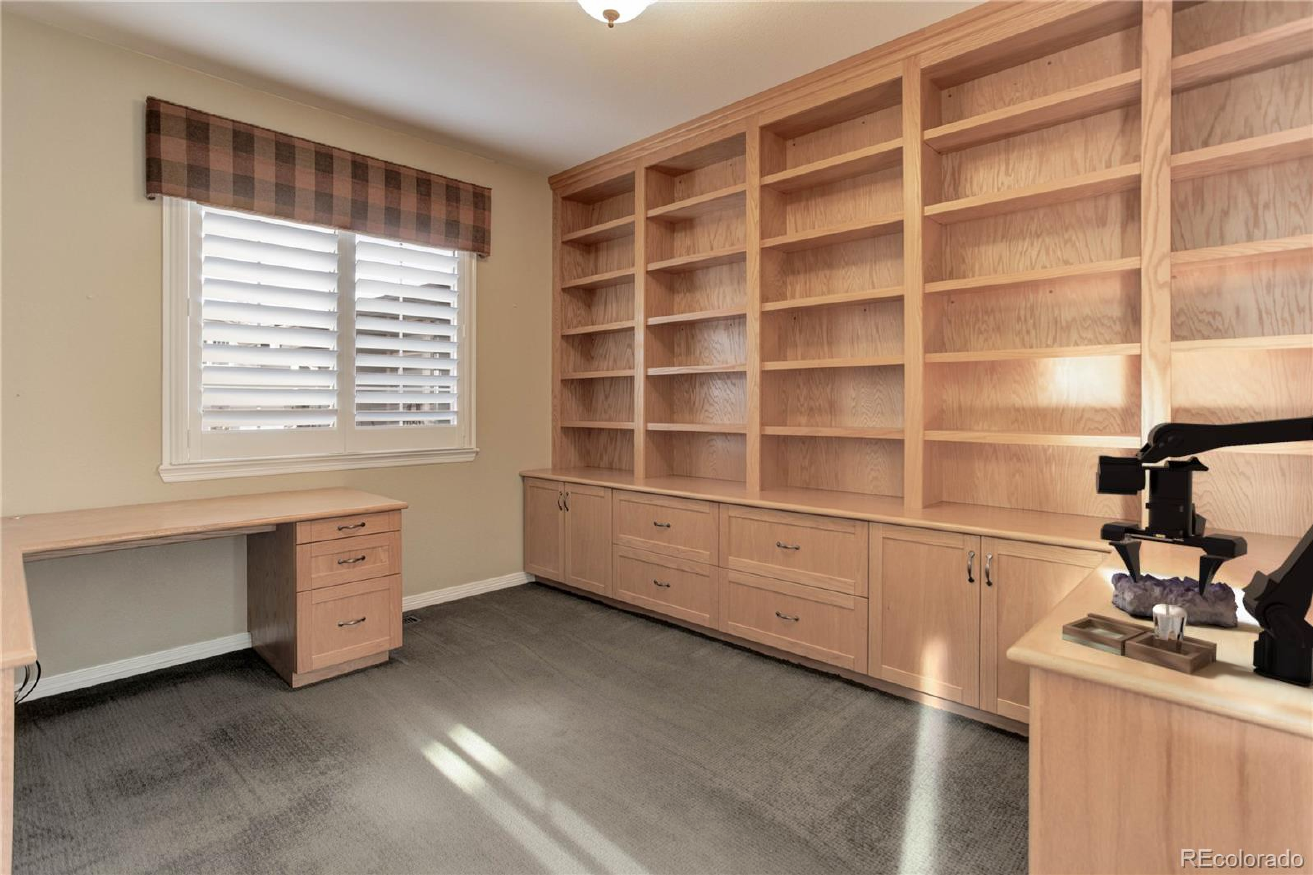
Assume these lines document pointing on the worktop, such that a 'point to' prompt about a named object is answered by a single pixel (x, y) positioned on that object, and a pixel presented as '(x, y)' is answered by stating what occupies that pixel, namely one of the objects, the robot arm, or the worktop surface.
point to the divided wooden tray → (1138, 643)
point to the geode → (1176, 598)
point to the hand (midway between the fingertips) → (1168, 589)
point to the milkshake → (1169, 627)
